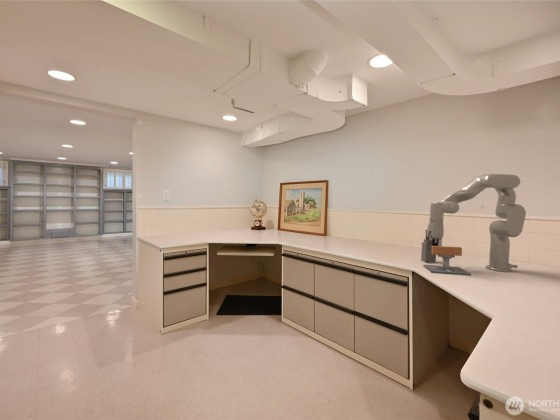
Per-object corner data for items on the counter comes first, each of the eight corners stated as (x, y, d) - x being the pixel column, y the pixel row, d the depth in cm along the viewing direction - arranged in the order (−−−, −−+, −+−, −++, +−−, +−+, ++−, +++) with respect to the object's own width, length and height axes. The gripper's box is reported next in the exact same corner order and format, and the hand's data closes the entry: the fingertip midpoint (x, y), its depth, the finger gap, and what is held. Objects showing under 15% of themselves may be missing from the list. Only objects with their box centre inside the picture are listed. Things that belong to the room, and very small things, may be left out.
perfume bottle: (431, 260, 187) (432, 236, 186) (435, 263, 181) (436, 237, 180) (421, 260, 188) (422, 235, 187) (425, 262, 181) (426, 237, 180)
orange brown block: (458, 256, 163) (458, 246, 162) (463, 259, 156) (463, 248, 156) (430, 255, 166) (430, 245, 166) (433, 257, 160) (434, 247, 160)
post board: (458, 268, 167) (459, 256, 167) (470, 275, 152) (471, 262, 151) (423, 266, 172) (423, 254, 171) (431, 272, 156) (432, 259, 156)
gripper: (438, 220, 173) (437, 247, 174) (423, 220, 168) (421, 248, 169) (449, 221, 166) (448, 249, 167) (433, 221, 161) (432, 250, 162)
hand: (434, 248), depth 168 cm, fingers closed
